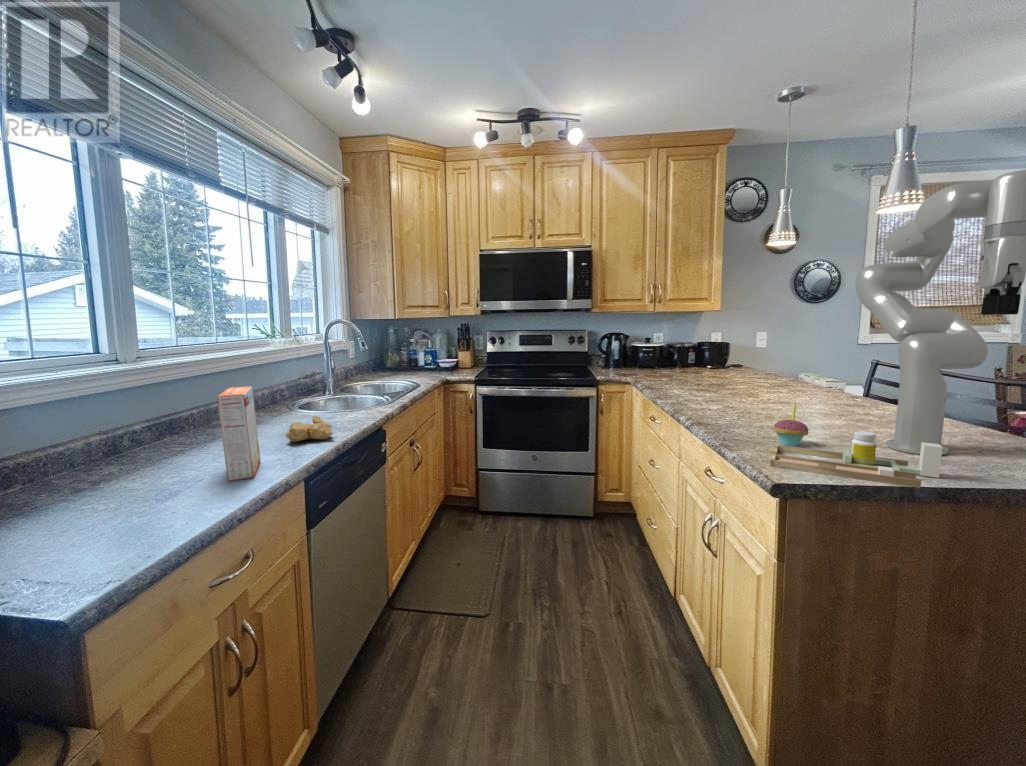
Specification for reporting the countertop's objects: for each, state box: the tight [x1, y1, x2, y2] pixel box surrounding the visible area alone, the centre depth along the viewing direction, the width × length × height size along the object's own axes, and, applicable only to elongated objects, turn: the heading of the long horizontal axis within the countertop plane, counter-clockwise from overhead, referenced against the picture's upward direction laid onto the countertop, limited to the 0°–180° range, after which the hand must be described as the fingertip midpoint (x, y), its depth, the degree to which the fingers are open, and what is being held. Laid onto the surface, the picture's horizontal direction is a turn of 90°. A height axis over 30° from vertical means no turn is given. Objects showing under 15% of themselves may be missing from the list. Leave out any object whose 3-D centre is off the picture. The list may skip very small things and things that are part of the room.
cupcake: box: [773, 402, 809, 447], centre depth 128 cm, size 9×8×12 cm
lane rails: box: [769, 444, 922, 489], centre depth 109 cm, size 16×28×2 cm, turn 56°
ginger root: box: [285, 415, 334, 443], centre depth 142 cm, size 16×16×8 cm
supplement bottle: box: [850, 430, 877, 466], centre depth 108 cm, size 5×5×8 cm
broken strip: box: [780, 458, 894, 476], centre depth 105 cm, size 4×22×2 cm, turn 56°
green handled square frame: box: [841, 442, 943, 478], centre depth 105 cm, size 9×17×7 cm, turn 56°
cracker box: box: [216, 386, 261, 482], centre depth 111 cm, size 14×6×21 cm, turn 23°
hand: (998, 314), depth 97 cm, fingers open, 9 cm apart
